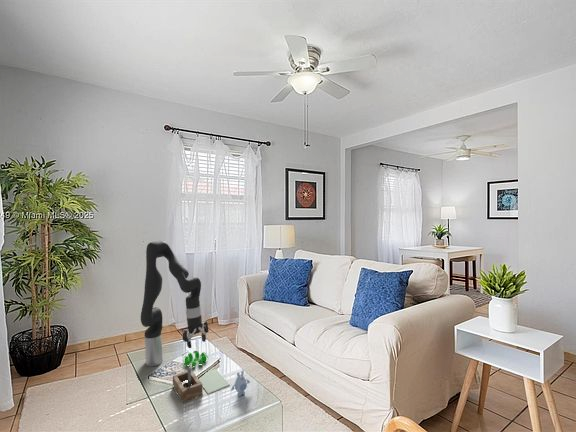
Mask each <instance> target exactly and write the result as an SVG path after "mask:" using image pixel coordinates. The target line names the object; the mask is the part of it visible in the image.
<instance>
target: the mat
mask: <svg viewBox="0 0 576 432" xmlns="http://www.w3.org/2000/svg"><path fill="white" fill-rule="evenodd" d="M204 373H205V374H204ZM204 373H203V374H204V375H203V376H202V377H201V378H200V379H199V380H200V382H201V383H202V389H204V391H205V392H206V394H207V395H209V394H212V393H215V392H217V391H219V390H220V391H221V389H224V388H227V387H229V386H230V383H229V382H228V381H227V380H226V379H225V377H224V376H222V374H221V373H220V372H219V371H218V370H217V369H216V368H215V369H212V370H210V371H207V372H204Z"/></svg>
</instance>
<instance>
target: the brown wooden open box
mask: <svg viewBox="0 0 576 432" xmlns="http://www.w3.org/2000/svg"><path fill="white" fill-rule="evenodd" d="M197 376H198V375H196V374H195V372H194V371H193V370H192V369H191V384H192V386H190V387H188V386H187V387H185V386H184V385H182V383H181V382H183V381H185V380H188V371H187V370H186V371H183V372H180V373H177V374H174V375H172V386H173V385H174V388H175V389H174V388H173V389H174V391H175V390H176V391H175V393H176V392H177V393H178V394H177V393H176V394H177V396H178V395H179V396H178V398H179V397H180V398H179V399H180V401H181V403H182V404H184V403H187V402H189V401H192V400H194V399H197V398H199V397H202V396H203V387H202V383H201V382H200V380H199V379H198V378H197ZM196 397H197V398H196Z"/></svg>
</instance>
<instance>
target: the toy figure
mask: <svg viewBox="0 0 576 432" xmlns="http://www.w3.org/2000/svg"><path fill="white" fill-rule="evenodd" d="M240 373H241V374H240ZM244 374H245V371H244V370H242V371H241V372H237V374H236V376H237V377H236V379H235V382H234V384H233V386H231V391H234V390H236V392H237V394H236V395H237V396H238V397H240V396H242V395H245V393H246V389H247V387H248V384H250V383H251V380H249V379H247V378H245V376H244Z"/></svg>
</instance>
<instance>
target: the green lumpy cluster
mask: <svg viewBox="0 0 576 432" xmlns="http://www.w3.org/2000/svg"><path fill="white" fill-rule="evenodd" d="M187 354H188V355H187V356H184V357H183V358H182V362H183V363H184V362H185V363H184V365H185V366H186V365H189V364H190V363H191V364H190V365H191V367H193V366H195V365H196V362H198V365H199V364H203V365H204V362H203V361H206V360H208V359H209V356H208V355H207V353H206V352H205V351H203V352H201V354H200V352H199V350H194V351H193V353H192V352H189V353H187ZM193 354H194V356H193ZM196 366H197V365H196ZM196 366H195V367H196Z"/></svg>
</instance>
